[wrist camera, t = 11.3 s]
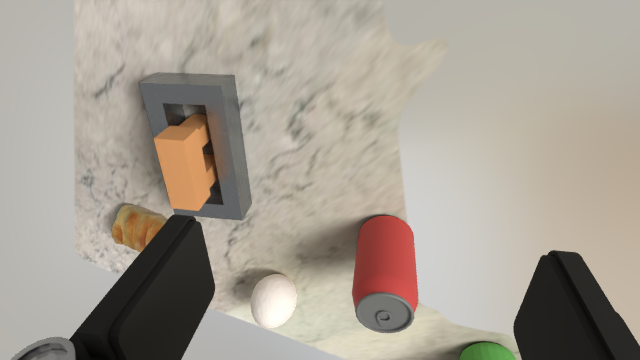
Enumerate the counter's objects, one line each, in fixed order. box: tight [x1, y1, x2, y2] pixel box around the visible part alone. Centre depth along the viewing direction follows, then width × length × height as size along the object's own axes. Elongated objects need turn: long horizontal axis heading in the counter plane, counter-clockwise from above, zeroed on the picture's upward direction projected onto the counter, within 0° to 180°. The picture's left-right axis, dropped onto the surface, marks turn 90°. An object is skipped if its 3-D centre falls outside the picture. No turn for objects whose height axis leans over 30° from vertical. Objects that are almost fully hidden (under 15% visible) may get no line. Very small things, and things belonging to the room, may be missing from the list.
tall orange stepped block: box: [154, 114, 218, 211], centre depth 40 cm, size 8×3×8 cm, turn 0°
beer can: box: [352, 216, 418, 333], centre depth 40 cm, size 7×7×12 cm
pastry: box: [112, 204, 168, 252], centre depth 50 cm, size 9×7×4 cm
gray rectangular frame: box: [139, 73, 252, 220], centre depth 41 cm, size 16×8×4 cm, turn 1°
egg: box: [251, 274, 297, 329], centre depth 50 cm, size 6×6×8 cm
